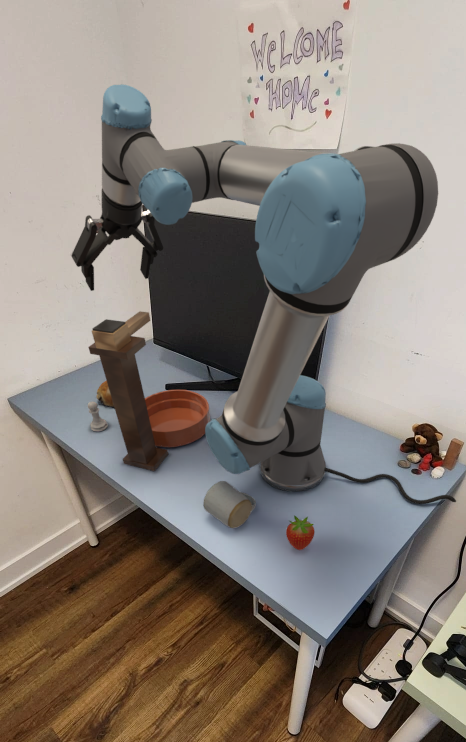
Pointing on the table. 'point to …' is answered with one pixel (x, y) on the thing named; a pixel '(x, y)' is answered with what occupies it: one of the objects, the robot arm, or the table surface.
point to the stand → (130, 404)
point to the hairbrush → (118, 331)
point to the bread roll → (104, 395)
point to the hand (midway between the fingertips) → (117, 280)
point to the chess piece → (96, 418)
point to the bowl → (177, 417)
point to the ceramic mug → (228, 504)
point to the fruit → (300, 533)
